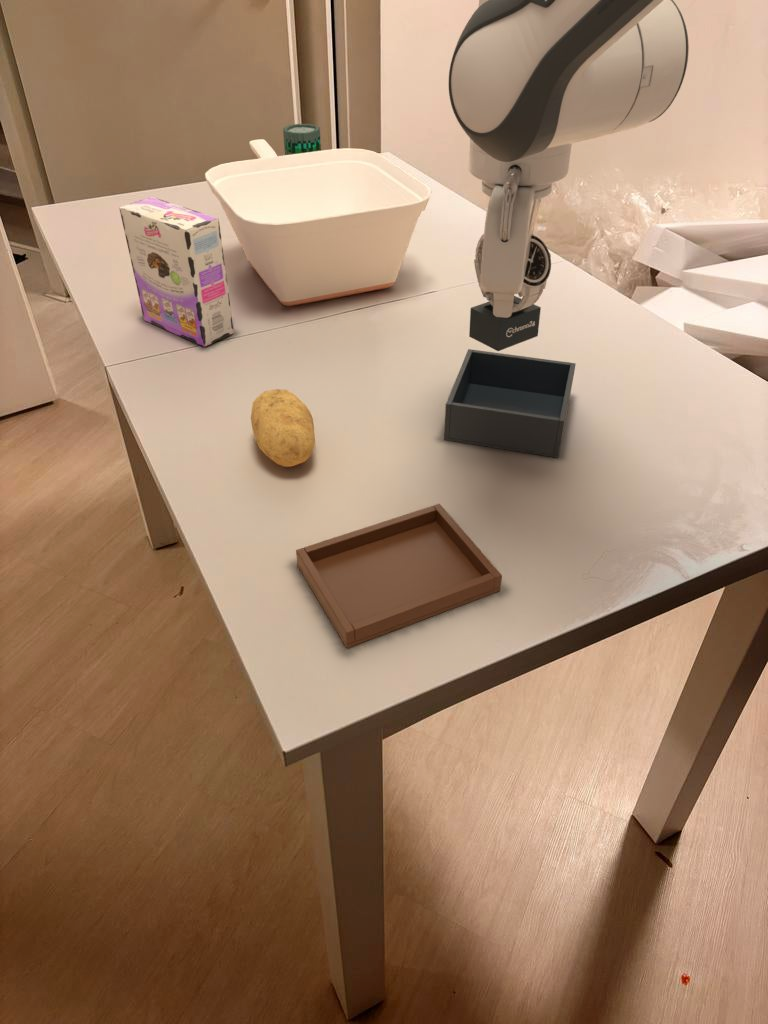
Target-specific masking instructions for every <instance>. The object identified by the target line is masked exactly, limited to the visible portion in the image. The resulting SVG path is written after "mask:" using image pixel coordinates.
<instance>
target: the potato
mask: <svg viewBox="0 0 768 1024" xmlns="http://www.w3.org/2000/svg"><path fill="white" fill-rule="evenodd" d="M250 421H251V422H250V423H251V428H252V433H253V436H254V439H255V442H256V444H257V446H258V448H259V450H260V451H261V452H262V453H263V454H264V455H265V456H266V457H268V458H269V459H270V460H271V461H272V462H274V463H275V464H276V465H278V466H281V467H283V468H285V467H286V468H289V467H290V468H291V467H294V466H297V465H300V464H302V463H304V462H306V461H307V460H308V459H309V458H310V457H311V456H312V453H313V451H314V449H315V443H316V436H315V423H314V418H313V416H312V413H311V411H310V409H309V408H308V406H307V405H306V404H305V403H304V402H303V401H302V400H301V399H300V398H299V397H298V395H296V394H294V393H293V392H291V391H290V390H288V389H280V388H276V389H271V390H265V391H263V392H261V393H260V394H259V395H258V396H256V398H255V399H254V401H253V402H252V407H251V415H250Z"/></svg>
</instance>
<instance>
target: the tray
mask: <svg viewBox="0 0 768 1024" xmlns="http://www.w3.org/2000/svg"><path fill="white" fill-rule="evenodd" d="M295 556H296V565H297V568H298V570H299V571H300V572H301V575H302V576H303V577H304V580H305V581H306V583H307V584H308V586H309V587H310V589H311V591H312V592H313V594H314V596H315V597H316V599H317V601H318V602H319V605H320V606H321V607H322V610H323V611H324V612H325V614H326V616H327V618H328V620H329V621H330V622H331V625H332V626H333V627H334V629H335V631H336V632H337V634H338V636H339V637H340V639H341V641H342V642H343V644H344V646H345V648H346V649H349V648H352V647H354V646H358V645H359V644H362V643H365V642H367V641H370V640H373V639H376V638H378V637H381V636H383V635H386V634H389V633H391V632H394V631H397V630H399V629H402V628H405V627H408V626H410V625H412V624H413V625H414V624H415V623H418V622H421V621H423V620H426V619H428V618H431V617H434V616H437V615H439V614H442V613H444V612H447V611H450V610H452V609H455V608H457V607H461V606H463V605H466V604H469V603H471V602H474V601H477V600H479V599H483V598H484V597H487V596H490V595H493V594H495V593H498V592H500V591H501V586H502V579H503V575H502V574H501V572H500V571H499V570H498V569H497V568H496V567H495V566H494V565H493V563H492V562H491V561H490V560H489V559H488V558H487V556H486V555H485V554H484V553H483V551H481V550H480V548H479V547H478V546H477V545H476V544H475V542H474V541H473V540H472V539H471V538H470V536H469V535H468V534H467V533H466V532H465V531H464V530H463V529H462V527H461V526H460V525H459V524H458V523H457V522H456V520H454V518H453V517H452V515H450V514H449V512H447V510H446V509H445V508H444V507H443V505H441V503H437V504H434V505H431V506H428V507H425V508H421V509H419V510H415V511H412V512H410V513H406V514H402V515H400V516H397V517H394V518H391V519H387V520H384V521H381V522H378V523H375V524H371V525H369V526H365V527H363V528H359V529H356V530H354V531H350V532H348V533H343V534H341V535H338V536H334V537H332V538H329V539H326V540H322V541H319V542H316V543H313V544H310V545H307V546H304V547H301V548H298V549H296V550H295Z"/></svg>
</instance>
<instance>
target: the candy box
mask: <svg viewBox="0 0 768 1024" xmlns="http://www.w3.org/2000/svg"><path fill="white" fill-rule="evenodd" d="M118 208H119V214H120V217H121V223H122V227H123V231H124V236H125V240H126V244H127V250H128V254H129V258H130V263H131V267H132V273H133V276H134V277H133V278H134V280H135V285H136V290H137V295H138V300H139V305H140V308H141V312H142V317H143V318H142V319H143V320H144V321H146V322H147V323H150V324H151V325H155V326H157V327H159V328H161V329H164V330H166V331H168V332H169V333H172V334H174V335H177V336H180V337H182V338H184V339H186V340H188V341H190V342H193V343H195V344H197V345H200V346H202V347H204V348H206V347H207V346H210V345H212V344H214V343H216V342H218V341H220V340H223V339H225V338H227V337H229V336H231V335H233V334H234V333H235V328H234V322H233V315H232V307H231V301H230V300H231V299H230V294H229V286H228V279H227V278H228V277H227V271H226V264H225V256H224V248H223V247H224V246H223V241H222V233H221V226H220V218H219V217H218V216H217V217H216V216H213V215H210V214H206V213H203V212H200V211H197V210H194V209H191V208H187V207H185V206H181V205H180V204H179V205H178V204H176V203H173V202H169V201H167V200H164V199H160V198H158V197H154V196H150V197H146V198H144V199H141V200H137V201H134V202H132V203H129V204H125V205H123V206H122V205H121V206H119V207H118Z"/></svg>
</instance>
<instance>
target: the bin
mask: <svg viewBox="0 0 768 1024" xmlns="http://www.w3.org/2000/svg"><path fill="white" fill-rule="evenodd" d="M576 365H577V363H575V362H570V361H561V360H554V359H547V358H546V359H545V358H538V357H531V356H525V355H516V354H508V353H500V352H493V351H486V350H480V349H479V350H478V349H471V348H469V349H467V351H466V354H465V356H464V359H463V360H462V364H461V366H460V368H459V370H458V373H457V376H456V378H455V380H454V384H453V386H452V388H451V390H450V392H449V395H448V397H447V400H446V403H445V412H444V429H443V441H448V442H456V443H460V444H468V445H474V446H481V447H488V448H494V449H499V450H500V449H501V450H507V451H513V452H519V453H525V454H531V455H539V456H545V457H551V458H557V459H559V457H560V451H561V447H562V443H563V442H562V441H563V435H564V430H565V426H566V420H567V415H568V410H569V405H570V398H571V394H572V388H573V382H574V375H575V370H576Z"/></svg>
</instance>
